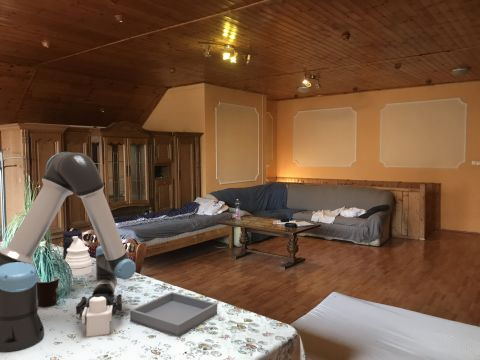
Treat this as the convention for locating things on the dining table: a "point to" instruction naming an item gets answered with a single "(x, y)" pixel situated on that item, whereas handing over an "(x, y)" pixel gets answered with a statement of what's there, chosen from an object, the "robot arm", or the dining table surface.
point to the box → (173, 313)
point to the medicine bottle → (97, 316)
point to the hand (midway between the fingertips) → (96, 318)
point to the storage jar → (69, 240)
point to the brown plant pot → (47, 292)
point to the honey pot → (78, 258)
